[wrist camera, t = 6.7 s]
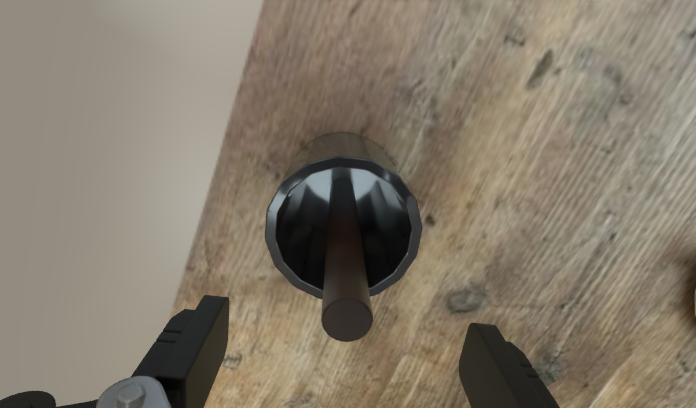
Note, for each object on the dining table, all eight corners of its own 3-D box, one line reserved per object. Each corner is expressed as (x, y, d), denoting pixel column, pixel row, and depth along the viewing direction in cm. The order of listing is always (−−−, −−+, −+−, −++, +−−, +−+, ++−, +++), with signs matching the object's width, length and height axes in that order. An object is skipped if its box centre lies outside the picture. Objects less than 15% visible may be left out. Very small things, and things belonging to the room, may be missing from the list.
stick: (328, 200, 29) (318, 340, 14) (331, 177, 28) (324, 296, 13) (352, 203, 29) (369, 345, 14) (355, 180, 28) (376, 301, 13)
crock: (282, 232, 30) (260, 293, 22) (291, 124, 28) (270, 147, 19) (387, 243, 31) (406, 308, 22) (405, 139, 28) (435, 167, 20)
